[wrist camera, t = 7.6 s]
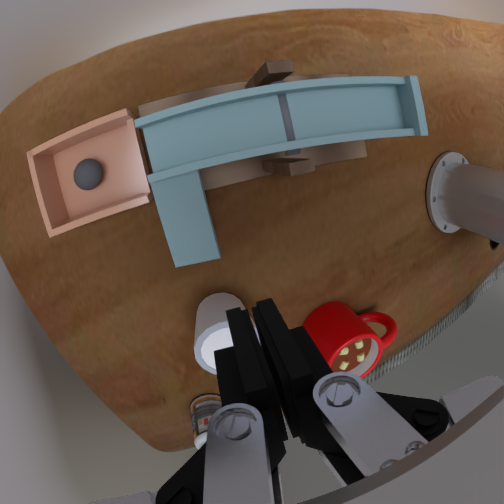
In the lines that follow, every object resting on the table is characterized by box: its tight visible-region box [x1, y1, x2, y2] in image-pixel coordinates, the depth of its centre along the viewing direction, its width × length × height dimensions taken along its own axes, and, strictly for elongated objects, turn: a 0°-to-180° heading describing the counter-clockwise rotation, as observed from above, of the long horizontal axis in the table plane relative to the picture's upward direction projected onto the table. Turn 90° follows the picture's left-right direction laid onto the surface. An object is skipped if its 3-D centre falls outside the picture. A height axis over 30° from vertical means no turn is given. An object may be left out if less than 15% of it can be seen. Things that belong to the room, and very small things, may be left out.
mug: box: [303, 302, 397, 378], centre depth 33 cm, size 8×12×8 cm, turn 106°
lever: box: [134, 75, 428, 267], centre depth 20 cm, size 22×13×4 cm, turn 102°
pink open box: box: [27, 108, 154, 238], centre depth 22 cm, size 10×8×5 cm
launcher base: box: [138, 60, 367, 191], centre depth 23 cm, size 23×10×8 cm, turn 102°
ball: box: [73, 158, 103, 190], centre depth 22 cm, size 3×3×3 cm
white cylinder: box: [194, 292, 260, 374], centre depth 29 cm, size 7×7×7 cm
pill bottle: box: [190, 395, 222, 450], centre depth 32 cm, size 6×6×10 cm
